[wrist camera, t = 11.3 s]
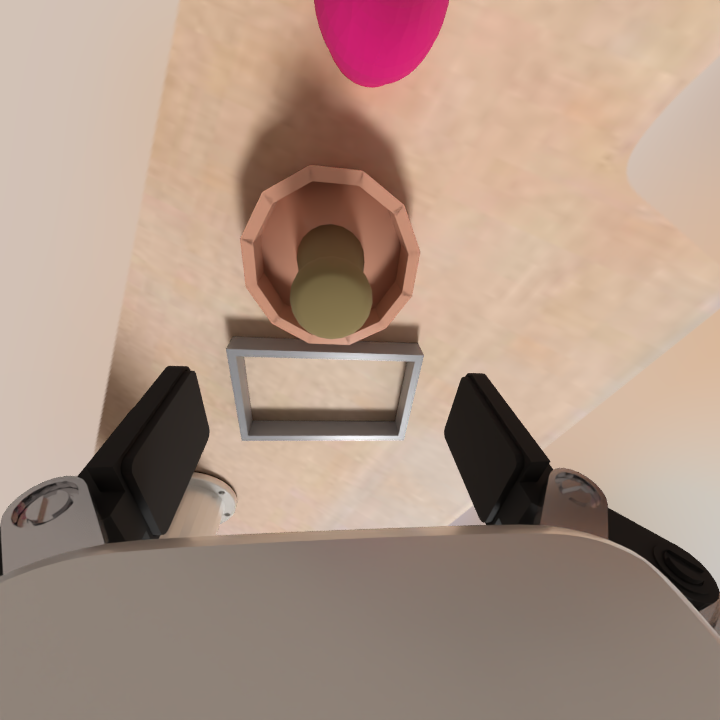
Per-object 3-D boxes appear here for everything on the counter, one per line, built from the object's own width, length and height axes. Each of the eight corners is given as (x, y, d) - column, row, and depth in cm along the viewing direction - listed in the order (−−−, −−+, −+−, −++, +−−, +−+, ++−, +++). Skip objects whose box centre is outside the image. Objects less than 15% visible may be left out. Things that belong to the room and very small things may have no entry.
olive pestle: (283, 265, 27) (259, 318, 18) (324, 207, 25) (321, 232, 16) (336, 305, 29) (340, 369, 20) (378, 255, 27) (403, 302, 18)
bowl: (394, 327, 32) (402, 346, 29) (260, 321, 31) (252, 341, 27) (420, 176, 25) (434, 178, 21) (244, 157, 23) (230, 157, 20)
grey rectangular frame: (399, 425, 40) (403, 440, 38) (246, 425, 38) (241, 440, 36) (417, 343, 34) (423, 355, 31) (233, 336, 31) (226, 349, 29)
